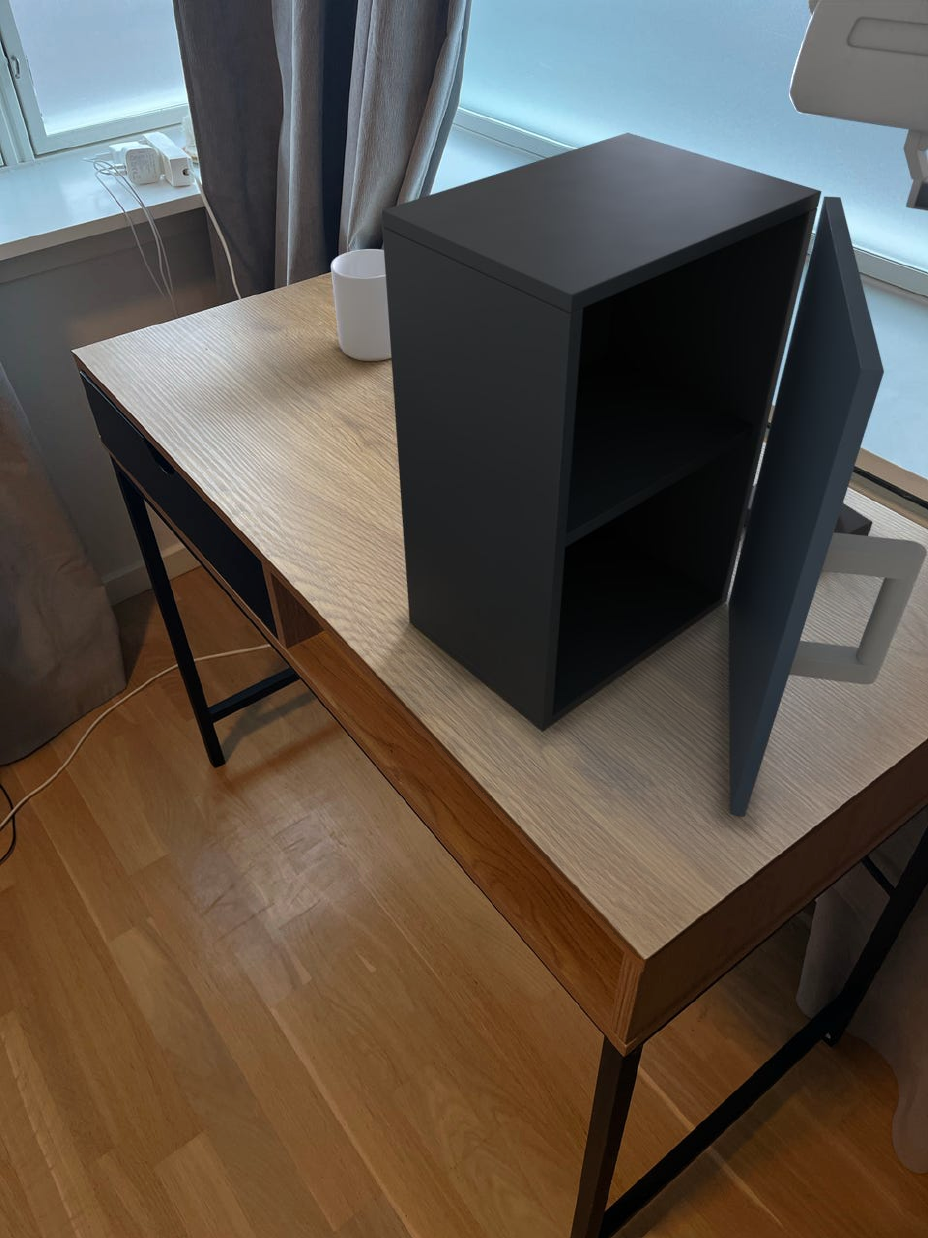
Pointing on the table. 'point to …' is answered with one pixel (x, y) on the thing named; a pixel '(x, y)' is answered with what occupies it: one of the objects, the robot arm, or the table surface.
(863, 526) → the button box
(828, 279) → the door
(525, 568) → the cupboard
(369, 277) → the mug
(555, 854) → the table surface
